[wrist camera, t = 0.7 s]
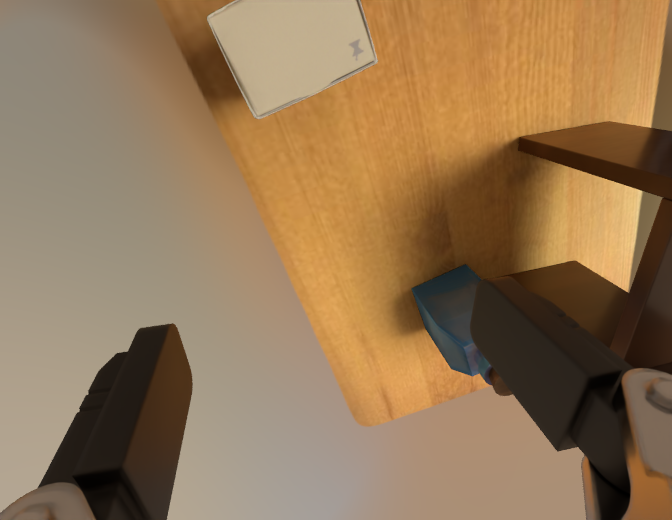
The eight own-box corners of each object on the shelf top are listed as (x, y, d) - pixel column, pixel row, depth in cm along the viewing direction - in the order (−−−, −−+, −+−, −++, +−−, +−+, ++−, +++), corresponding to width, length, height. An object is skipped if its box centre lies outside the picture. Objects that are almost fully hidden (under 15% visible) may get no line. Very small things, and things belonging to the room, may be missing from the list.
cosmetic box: (309, -6, 24) (348, -62, 14) (334, 63, 26) (384, 62, 16) (225, 34, 24) (200, 10, 14) (256, 100, 27) (255, 123, 16)
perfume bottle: (425, 329, 41) (483, 418, 30) (411, 288, 38) (469, 373, 27) (475, 306, 40) (550, 389, 30) (465, 264, 37) (545, 340, 27)
